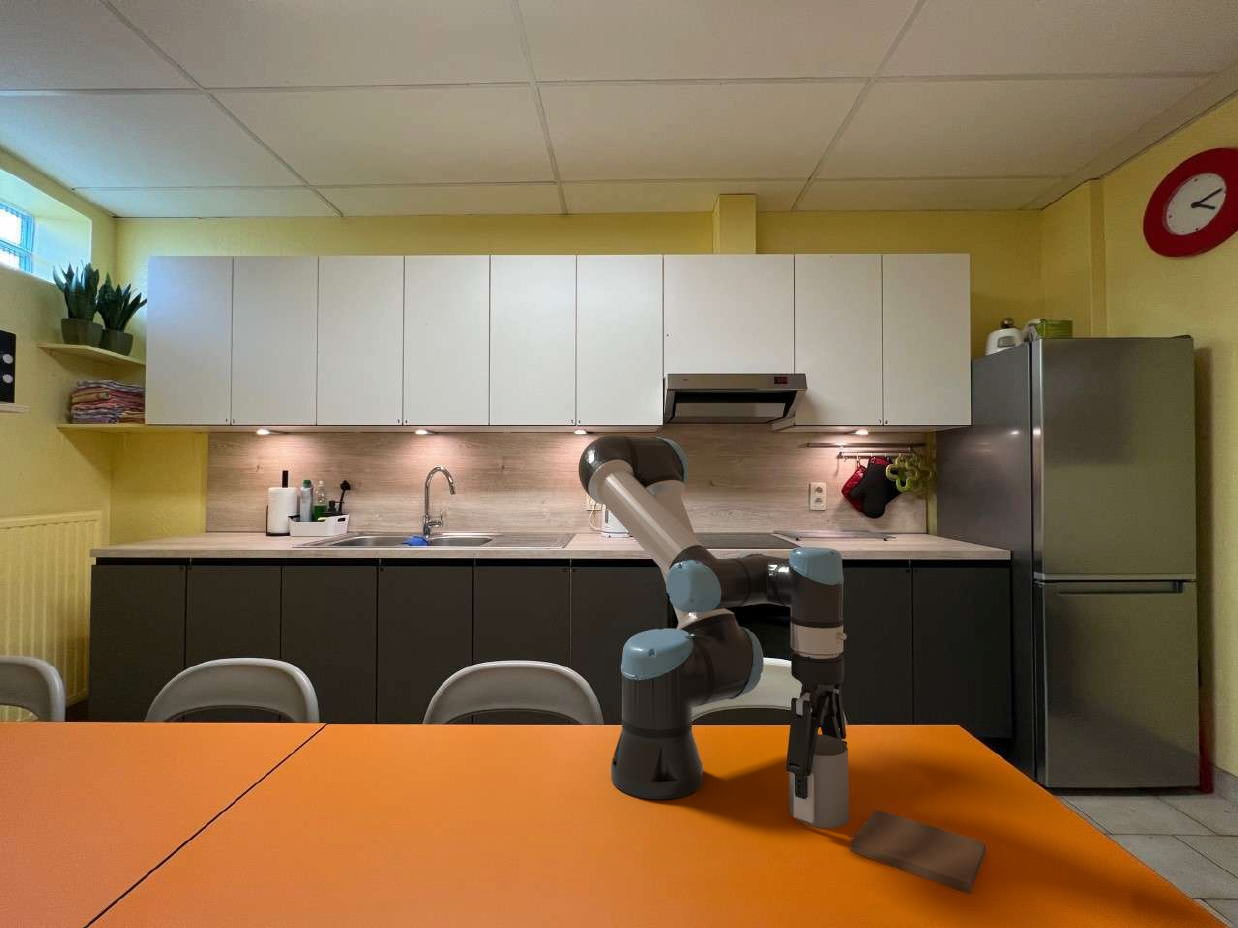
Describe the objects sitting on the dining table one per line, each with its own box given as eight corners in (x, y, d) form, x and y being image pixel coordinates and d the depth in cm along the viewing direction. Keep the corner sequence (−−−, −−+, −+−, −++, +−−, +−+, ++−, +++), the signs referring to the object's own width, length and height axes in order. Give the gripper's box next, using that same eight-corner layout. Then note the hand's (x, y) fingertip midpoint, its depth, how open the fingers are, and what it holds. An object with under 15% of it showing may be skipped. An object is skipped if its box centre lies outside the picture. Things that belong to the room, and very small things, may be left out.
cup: (852, 831, 88) (851, 758, 88) (791, 824, 90) (791, 753, 90) (843, 801, 96) (842, 735, 97) (787, 796, 98) (787, 731, 98)
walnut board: (850, 850, 83) (850, 841, 83) (875, 817, 92) (875, 808, 92) (969, 893, 74) (969, 883, 74) (985, 852, 83) (985, 842, 83)
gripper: (812, 673, 83) (813, 846, 82) (867, 641, 100) (868, 783, 100) (759, 663, 87) (760, 827, 87) (820, 634, 105) (822, 770, 104)
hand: (818, 803), depth 93 cm, fingers open, 10 cm apart
